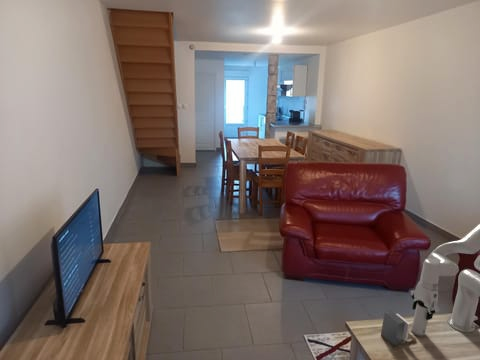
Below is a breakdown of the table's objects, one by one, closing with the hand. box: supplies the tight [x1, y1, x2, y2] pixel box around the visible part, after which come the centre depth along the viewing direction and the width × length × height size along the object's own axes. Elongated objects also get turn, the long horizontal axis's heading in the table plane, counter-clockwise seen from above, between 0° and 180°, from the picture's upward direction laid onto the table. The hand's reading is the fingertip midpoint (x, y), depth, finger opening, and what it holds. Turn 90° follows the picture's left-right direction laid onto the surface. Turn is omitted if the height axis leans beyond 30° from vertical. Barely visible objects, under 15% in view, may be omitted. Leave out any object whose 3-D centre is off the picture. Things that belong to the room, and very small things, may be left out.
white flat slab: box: [395, 313, 411, 343], centre depth 171 cm, size 1×9×10 cm, turn 21°
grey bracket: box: [380, 310, 417, 349], centre depth 171 cm, size 14×9×14 cm, turn 111°
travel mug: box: [411, 300, 431, 337], centre depth 175 cm, size 6×7×20 cm
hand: (421, 313), depth 174 cm, fingers open, 7 cm apart
